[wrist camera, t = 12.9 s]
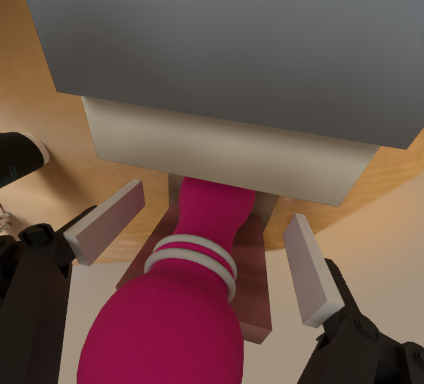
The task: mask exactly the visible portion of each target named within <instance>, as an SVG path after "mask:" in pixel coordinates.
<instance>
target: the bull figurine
mask: <svg viewBox="0 0 424 384" xmlns="http://www.w3.org/2000/svg"><path fill="white" fill-rule="evenodd" d="M0 206H1V204H0ZM9 216H11V213H9V212H7V213H5V214H4V215H2V216H1V217H0V220H1V219H3V218H8V217H9ZM9 226H11V224H10V223H8V222H7V223H6V224H5V225H4V226H3V227H2V228H0V233H1V232H2V230H3V229H6V228H8V227H9Z"/></svg>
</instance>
